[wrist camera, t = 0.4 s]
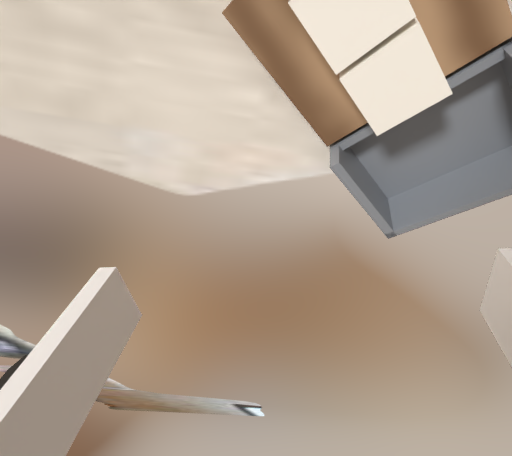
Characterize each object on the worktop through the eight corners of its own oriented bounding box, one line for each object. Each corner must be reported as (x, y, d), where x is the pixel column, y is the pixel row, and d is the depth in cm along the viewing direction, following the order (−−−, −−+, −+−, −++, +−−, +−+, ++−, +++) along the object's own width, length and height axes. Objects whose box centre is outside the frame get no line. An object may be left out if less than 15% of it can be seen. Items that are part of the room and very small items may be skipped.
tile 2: (367, -83, 20) (371, -79, 18) (408, 4, 23) (416, 16, 21) (291, -8, 24) (287, 2, 22) (335, 60, 26) (336, 75, 24)
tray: (504, 26, 25) (536, 54, 21) (540, 135, 31) (571, 173, 27) (330, 134, 35) (329, 167, 31) (382, 202, 40) (388, 238, 36)
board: (424, -215, 18) (435, -227, 16) (502, 21, 25) (517, 33, 23) (230, 3, 27) (221, 13, 25) (327, 131, 34) (327, 146, 32)
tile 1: (411, 10, 23) (419, 23, 21) (443, 77, 26) (452, 93, 24) (339, 65, 27) (339, 80, 25) (374, 118, 29) (376, 136, 27)
